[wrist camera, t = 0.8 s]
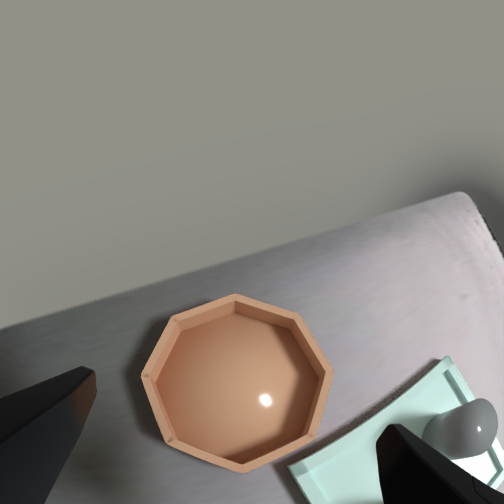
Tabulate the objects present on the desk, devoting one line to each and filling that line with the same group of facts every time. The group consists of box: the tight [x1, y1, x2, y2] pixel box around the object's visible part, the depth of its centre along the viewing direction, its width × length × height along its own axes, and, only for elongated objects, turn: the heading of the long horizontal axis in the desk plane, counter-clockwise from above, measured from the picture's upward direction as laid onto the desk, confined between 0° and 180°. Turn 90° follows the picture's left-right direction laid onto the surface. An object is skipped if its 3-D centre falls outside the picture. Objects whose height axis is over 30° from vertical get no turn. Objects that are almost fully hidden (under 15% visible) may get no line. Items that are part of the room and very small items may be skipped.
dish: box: [141, 294, 334, 473], centre depth 20 cm, size 13×13×2 cm
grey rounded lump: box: [422, 398, 498, 461], centre depth 15 cm, size 5×5×5 cm
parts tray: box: [287, 355, 504, 504], centre depth 15 cm, size 16×17×1 cm
